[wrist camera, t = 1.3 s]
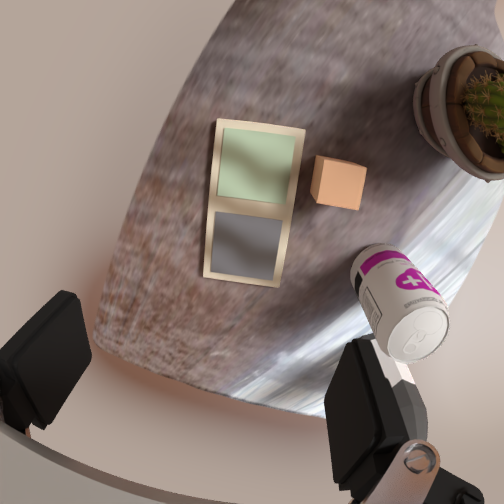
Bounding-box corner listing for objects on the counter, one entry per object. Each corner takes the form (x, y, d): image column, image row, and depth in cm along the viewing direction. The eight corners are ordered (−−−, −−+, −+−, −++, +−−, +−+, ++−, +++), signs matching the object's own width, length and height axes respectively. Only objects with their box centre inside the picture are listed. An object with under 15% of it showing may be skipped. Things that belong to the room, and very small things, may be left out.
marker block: (315, 155, 34) (324, 159, 28) (352, 162, 34) (366, 168, 28) (309, 191, 35) (316, 203, 30) (345, 197, 35) (358, 210, 30)
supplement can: (367, 231, 37) (414, 288, 23) (414, 255, 37) (468, 314, 24) (338, 283, 40) (365, 357, 26) (384, 302, 40) (422, 373, 27)
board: (218, 118, 33) (216, 118, 32) (304, 129, 33) (305, 129, 31) (204, 273, 40) (202, 277, 39) (278, 284, 40) (279, 288, 39)
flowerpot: (481, 73, 26) (584, 64, 8) (479, 175, 32) (583, 218, 14) (394, 45, 27) (489, -6, 9) (394, 161, 33) (498, 199, 15)
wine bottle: (360, 375, 46) (397, 536, 18) (339, 348, 44) (377, 533, 16) (401, 351, 44) (462, 508, 16) (384, 321, 42) (457, 500, 14)
